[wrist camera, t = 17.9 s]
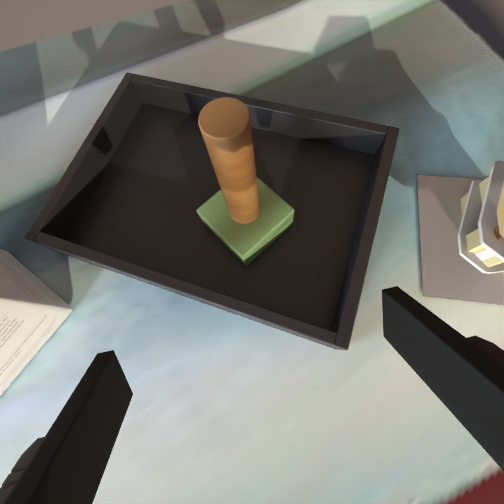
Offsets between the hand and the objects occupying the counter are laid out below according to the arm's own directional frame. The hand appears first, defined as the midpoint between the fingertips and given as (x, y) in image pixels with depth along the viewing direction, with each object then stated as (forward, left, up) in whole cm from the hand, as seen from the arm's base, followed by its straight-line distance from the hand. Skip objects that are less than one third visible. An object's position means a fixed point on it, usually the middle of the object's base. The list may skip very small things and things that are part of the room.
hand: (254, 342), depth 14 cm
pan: (-7, +10, -7) cm, 13 cm away
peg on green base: (-4, +8, -6) cm, 11 cm away
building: (+13, +13, -7) cm, 19 cm away
